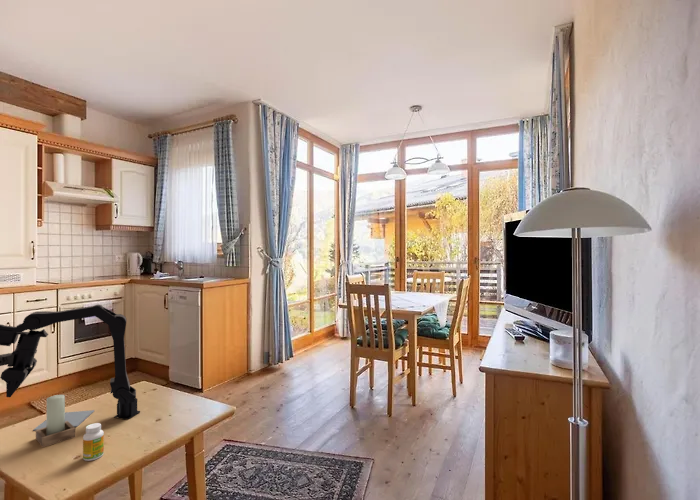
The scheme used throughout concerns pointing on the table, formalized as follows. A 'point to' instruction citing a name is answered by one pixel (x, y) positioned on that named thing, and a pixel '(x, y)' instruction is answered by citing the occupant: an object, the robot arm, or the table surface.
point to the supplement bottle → (93, 442)
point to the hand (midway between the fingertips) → (12, 392)
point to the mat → (71, 418)
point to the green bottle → (55, 414)
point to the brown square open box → (55, 435)
